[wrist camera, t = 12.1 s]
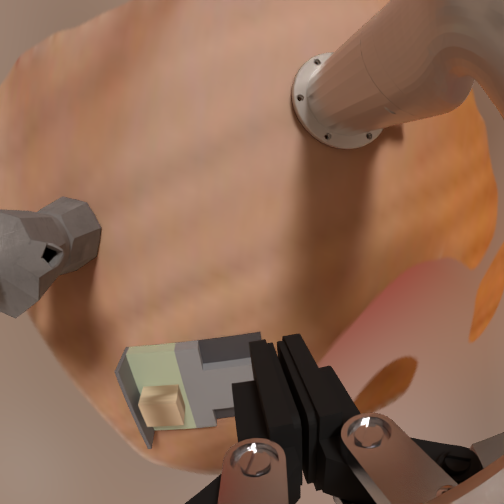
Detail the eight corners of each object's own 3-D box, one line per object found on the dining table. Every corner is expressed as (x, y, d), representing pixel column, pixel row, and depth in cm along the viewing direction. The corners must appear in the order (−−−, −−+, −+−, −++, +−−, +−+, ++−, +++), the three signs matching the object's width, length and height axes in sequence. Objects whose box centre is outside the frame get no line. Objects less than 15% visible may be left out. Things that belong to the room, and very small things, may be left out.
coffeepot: (110, 185, 33) (27, 193, 16) (124, 263, 35) (59, 330, 18) (13, 209, 32) (-82, 234, 14) (27, 277, 34) (-56, 333, 17)
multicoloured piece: (260, 331, 39) (267, 356, 34) (269, 409, 43) (276, 436, 37) (125, 347, 38) (114, 371, 32) (153, 421, 41) (148, 448, 35)
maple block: (178, 384, 38) (176, 403, 34) (185, 405, 39) (183, 425, 35) (143, 386, 37) (137, 405, 33) (151, 408, 38) (147, 426, 34)
